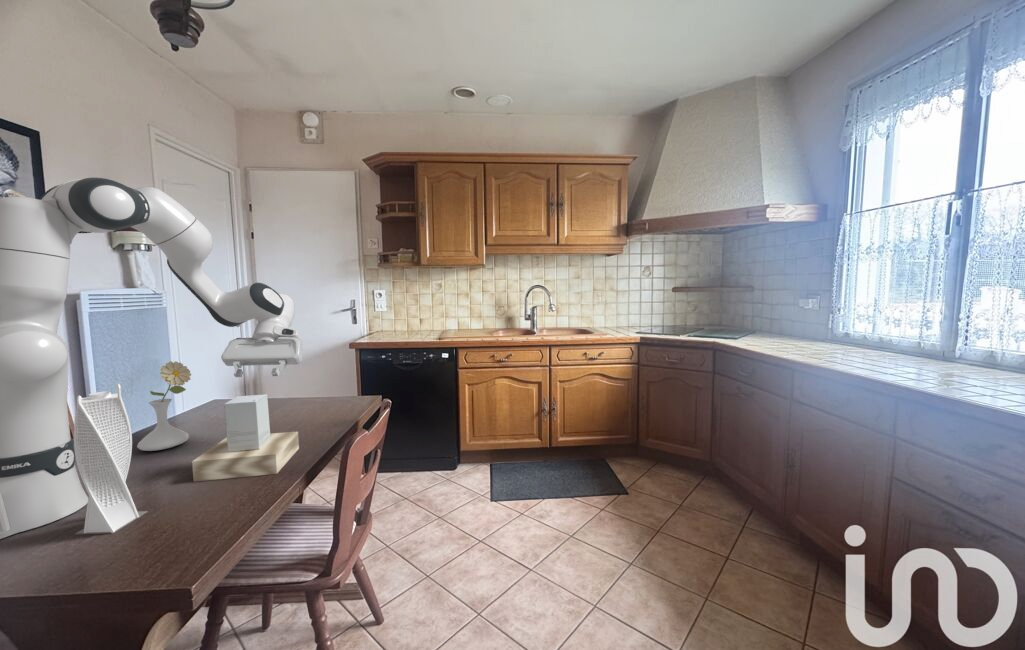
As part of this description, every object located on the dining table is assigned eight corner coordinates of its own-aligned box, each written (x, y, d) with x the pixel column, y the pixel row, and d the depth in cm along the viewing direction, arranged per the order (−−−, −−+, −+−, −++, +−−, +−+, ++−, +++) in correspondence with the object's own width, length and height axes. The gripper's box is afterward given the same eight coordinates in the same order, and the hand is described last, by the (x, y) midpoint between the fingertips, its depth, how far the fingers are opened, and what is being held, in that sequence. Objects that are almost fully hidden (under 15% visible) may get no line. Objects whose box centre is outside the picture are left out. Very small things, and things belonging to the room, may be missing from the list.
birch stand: (193, 481, 91) (192, 461, 90) (228, 454, 106) (227, 436, 106) (276, 473, 94) (275, 454, 94) (299, 448, 110) (298, 431, 110)
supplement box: (271, 439, 104) (268, 393, 103) (259, 449, 97) (256, 401, 96) (241, 441, 103) (238, 395, 102) (226, 452, 95) (223, 403, 94)
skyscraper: (155, 512, 78) (143, 379, 76) (115, 538, 70) (101, 389, 68) (112, 514, 78) (99, 380, 76) (68, 539, 70) (51, 390, 68)
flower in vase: (145, 458, 104) (137, 368, 102) (131, 449, 110) (123, 364, 108) (203, 442, 115) (196, 360, 113) (187, 435, 121) (181, 357, 119)
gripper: (227, 331, 111) (209, 370, 102) (303, 330, 116) (292, 368, 107) (235, 344, 116) (218, 383, 107) (308, 343, 120) (298, 380, 111)
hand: (256, 375), depth 107 cm, fingers open, 8 cm apart
